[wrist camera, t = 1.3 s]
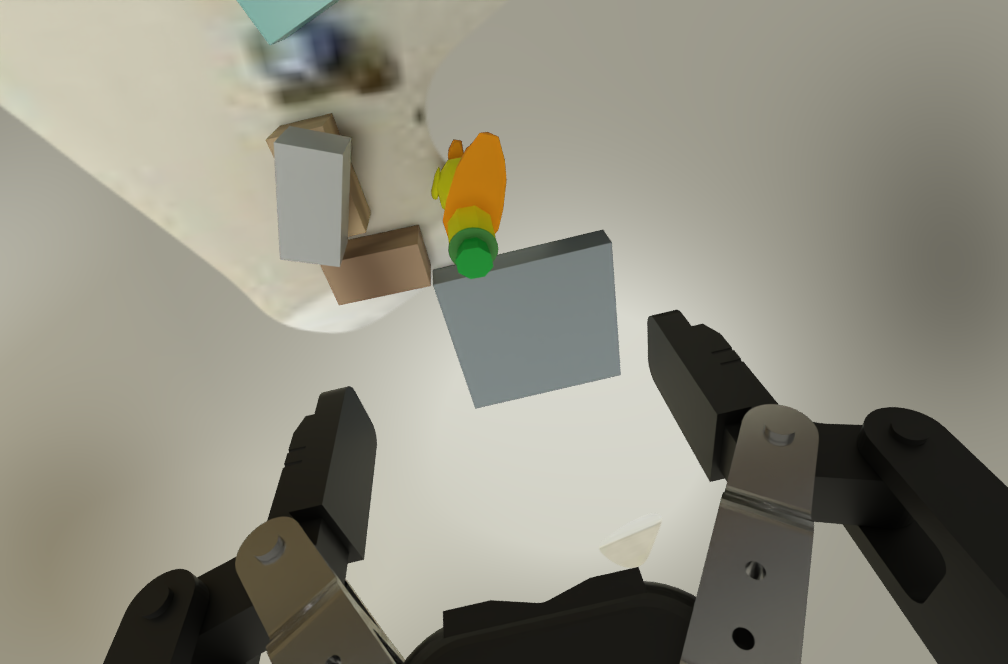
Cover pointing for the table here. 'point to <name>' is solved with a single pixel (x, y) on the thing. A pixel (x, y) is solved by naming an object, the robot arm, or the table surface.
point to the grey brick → (312, 195)
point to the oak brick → (357, 201)
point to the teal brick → (282, 15)
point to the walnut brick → (380, 266)
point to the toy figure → (472, 202)
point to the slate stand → (534, 319)
